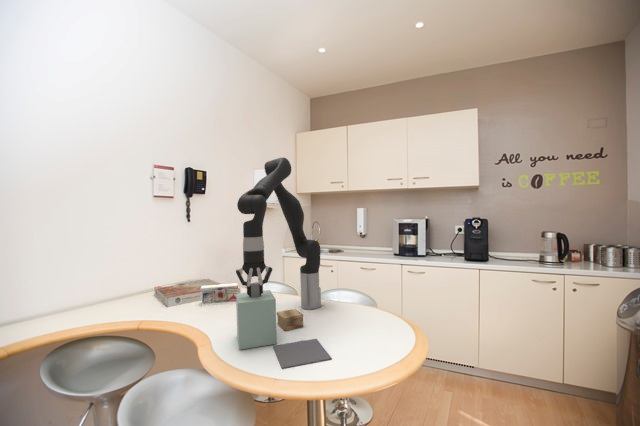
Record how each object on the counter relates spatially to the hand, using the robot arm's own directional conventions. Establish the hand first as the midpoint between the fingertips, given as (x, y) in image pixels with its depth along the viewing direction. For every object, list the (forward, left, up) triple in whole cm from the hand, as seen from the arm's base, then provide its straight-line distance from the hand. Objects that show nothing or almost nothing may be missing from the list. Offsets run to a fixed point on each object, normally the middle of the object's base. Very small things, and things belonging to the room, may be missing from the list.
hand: (254, 295), depth 111 cm
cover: (0, 0, -16) cm, 16 cm away
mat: (-13, +16, -17) cm, 26 cm away
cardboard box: (-15, -9, -17) cm, 24 cm away
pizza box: (+29, -79, -17) cm, 86 cm away
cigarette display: (+12, -55, -17) cm, 59 cm away
